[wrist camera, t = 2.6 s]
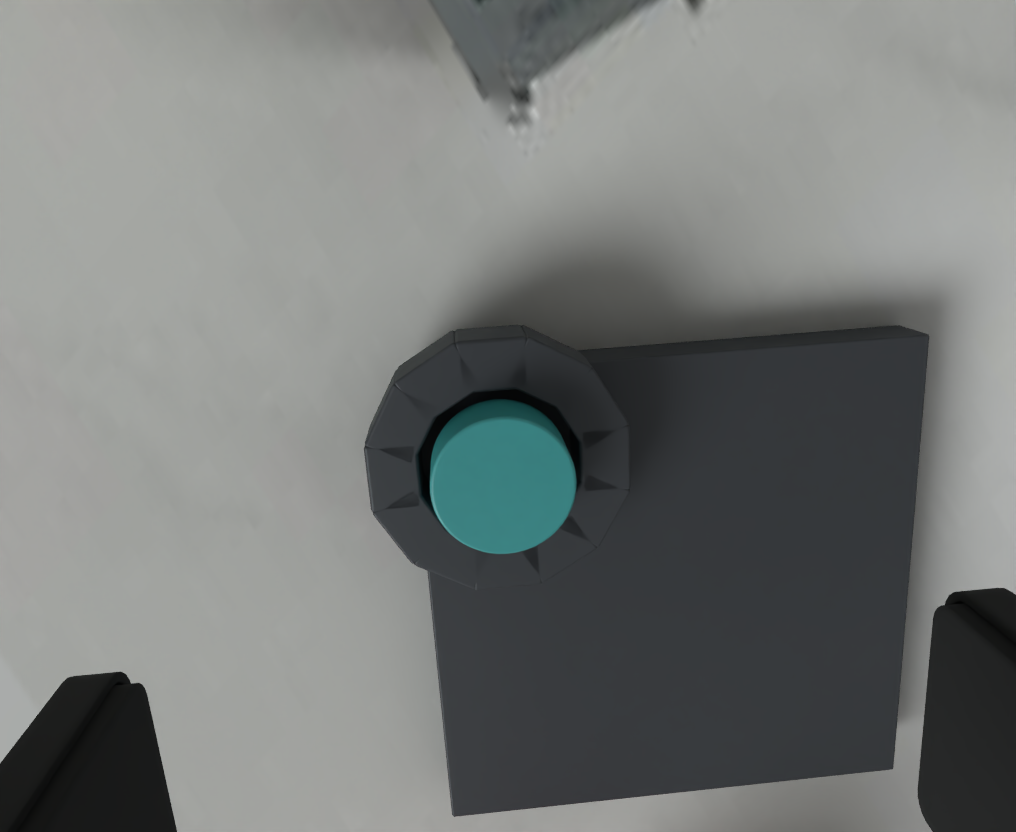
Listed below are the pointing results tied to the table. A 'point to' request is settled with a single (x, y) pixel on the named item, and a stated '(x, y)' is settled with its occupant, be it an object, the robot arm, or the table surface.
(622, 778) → the scale
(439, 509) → the button
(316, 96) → the table surface
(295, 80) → the table surface
